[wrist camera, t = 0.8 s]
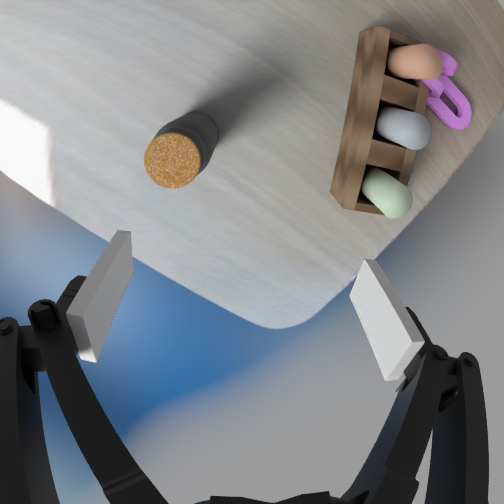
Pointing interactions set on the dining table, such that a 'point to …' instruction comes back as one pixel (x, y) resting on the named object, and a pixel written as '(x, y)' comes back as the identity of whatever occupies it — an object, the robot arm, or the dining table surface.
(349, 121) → the walnut rack
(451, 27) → the dining table surface
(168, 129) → the bottle
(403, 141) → the grey rounded cylinder
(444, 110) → the bracket
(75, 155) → the dining table surface
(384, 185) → the green rounded cylinder
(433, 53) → the brown egg
